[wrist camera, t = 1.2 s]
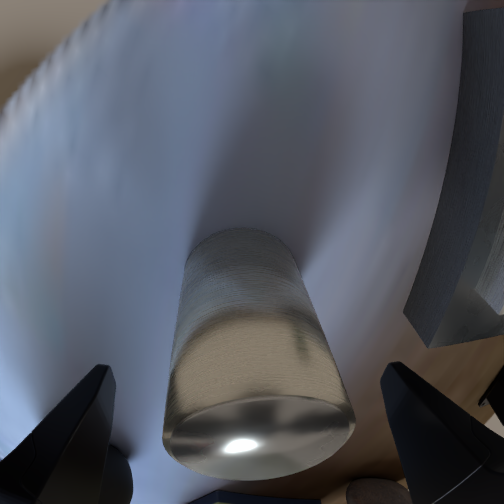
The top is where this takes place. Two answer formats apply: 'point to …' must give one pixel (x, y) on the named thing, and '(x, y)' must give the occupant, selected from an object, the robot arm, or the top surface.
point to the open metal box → (469, 204)
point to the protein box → (248, 499)
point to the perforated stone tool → (377, 492)
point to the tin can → (251, 365)
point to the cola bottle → (116, 479)
